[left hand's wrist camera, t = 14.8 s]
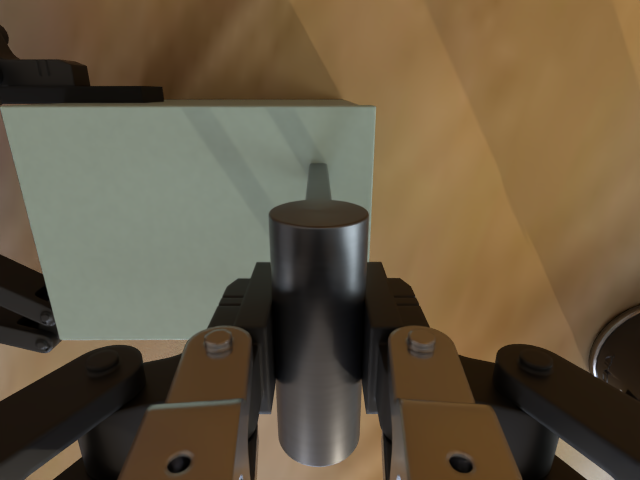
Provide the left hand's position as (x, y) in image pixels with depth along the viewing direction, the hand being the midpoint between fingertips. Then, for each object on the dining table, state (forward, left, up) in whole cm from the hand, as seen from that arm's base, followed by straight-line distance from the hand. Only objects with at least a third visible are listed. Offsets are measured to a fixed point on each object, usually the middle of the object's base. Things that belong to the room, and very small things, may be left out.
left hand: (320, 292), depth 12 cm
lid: (+5, -1, -6) cm, 8 cm away
